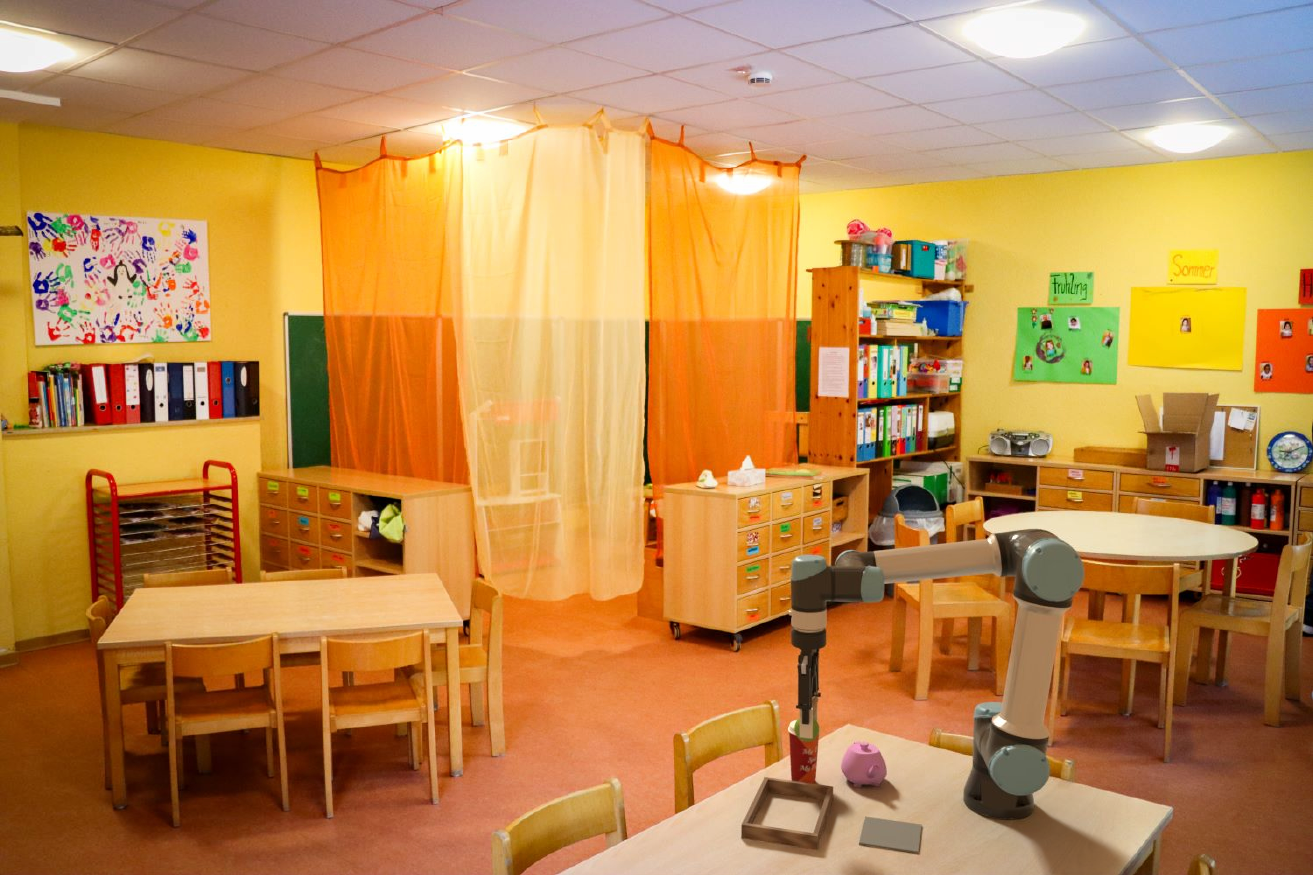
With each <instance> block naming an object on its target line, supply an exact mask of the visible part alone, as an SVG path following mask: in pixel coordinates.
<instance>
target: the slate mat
mask: <svg viewBox="0 0 1313 875" xmlns="http://www.w3.org/2000/svg"><path fill="white" fill-rule="evenodd" d="M863 820H864V821H863V824H862V829H861V833H860V838H859V842H858V844H859V845H861V846H867V847H872V848H878V849H879V848H880V849H888V850H892V851H899V852H907V853H912V854H919V850H920V843H921V842H920V841H921V836H922V835H921V833H922V824H918V823H913V822H905V821H900V820H893V819H886V818H885V819H884V818H881V817H871V816H865V817H864V819H863Z"/></svg>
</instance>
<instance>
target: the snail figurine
mask: <svg viewBox="0 0 1313 875" xmlns="http://www.w3.org/2000/svg"><path fill="white" fill-rule="evenodd" d="M816 693H817V694H819V693H820V692H819V691H817V692H814V695H816ZM818 703H819V697H816V696H814V697H813V698H812V708H813V717H814V716H815V714H816V711H817V712H818ZM796 720H797V721H796V723H795V726H794V731H795V734H796V736H797V737H798V738H799V739H800V740H802V741H805V742H810V741H813V740H814V739H816V738H817V736H818V734H819V735H820V733H819V730H820V731H821V729H820V724H819V722H818V720H817V721H816V720H815V719H814V718H813V738H812V739H810V738H801V737H800V717H798V718H797V719H796Z"/></svg>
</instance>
